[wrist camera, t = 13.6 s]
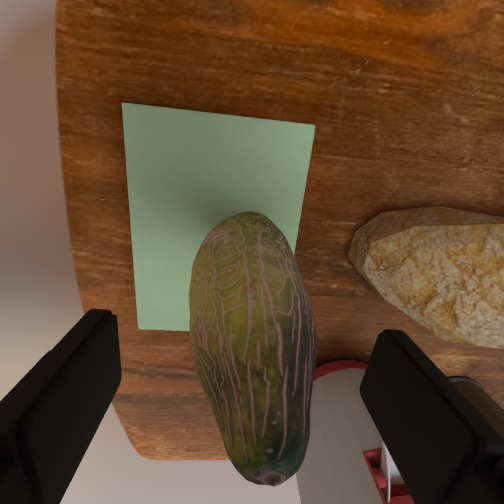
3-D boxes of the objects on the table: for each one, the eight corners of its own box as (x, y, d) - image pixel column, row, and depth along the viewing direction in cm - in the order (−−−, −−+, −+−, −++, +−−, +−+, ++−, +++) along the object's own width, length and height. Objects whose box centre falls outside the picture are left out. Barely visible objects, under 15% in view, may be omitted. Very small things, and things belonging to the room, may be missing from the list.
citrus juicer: (407, 329, 31) (655, 586, 13) (384, 426, 38) (528, 694, 19) (281, 336, 31) (348, 618, 12) (279, 434, 37) (321, 718, 18)
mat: (126, 104, 21) (120, 102, 20) (312, 126, 23) (316, 124, 22) (141, 323, 29) (137, 329, 28) (279, 329, 30) (280, 335, 29)
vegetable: (204, 250, 25) (108, 524, 7) (217, 187, 23) (133, 327, 4) (262, 263, 26) (326, 539, 7) (280, 204, 24) (432, 380, 5)
